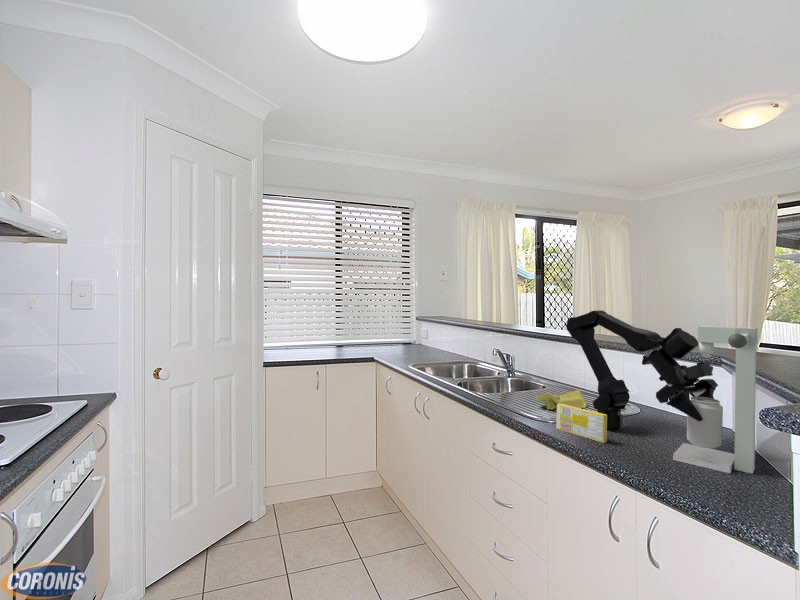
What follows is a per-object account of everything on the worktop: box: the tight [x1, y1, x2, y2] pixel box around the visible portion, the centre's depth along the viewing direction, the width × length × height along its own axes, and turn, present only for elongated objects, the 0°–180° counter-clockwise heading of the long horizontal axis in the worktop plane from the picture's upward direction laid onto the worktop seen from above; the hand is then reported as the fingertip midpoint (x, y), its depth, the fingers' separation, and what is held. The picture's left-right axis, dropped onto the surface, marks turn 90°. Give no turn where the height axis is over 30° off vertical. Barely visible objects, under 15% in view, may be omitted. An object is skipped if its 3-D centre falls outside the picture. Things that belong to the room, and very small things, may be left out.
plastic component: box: [534, 390, 588, 411], centre depth 161 cm, size 20×7×10 cm
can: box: [686, 396, 724, 449], centre depth 109 cm, size 8×8×12 cm
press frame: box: [697, 325, 758, 475], centre depth 101 cm, size 11×21×35 cm, turn 135°
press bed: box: [672, 442, 734, 474], centre depth 109 cm, size 12×12×2 cm
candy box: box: [555, 403, 608, 444], centre depth 129 cm, size 16×2×8 cm, turn 33°
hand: (710, 418), depth 108 cm, fingers closed on can, 7 cm apart
